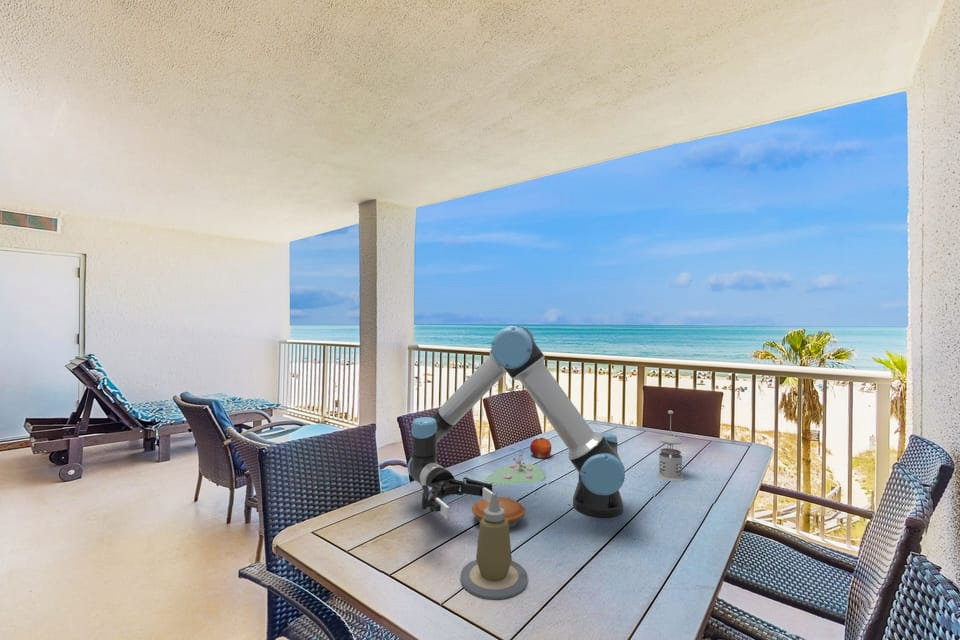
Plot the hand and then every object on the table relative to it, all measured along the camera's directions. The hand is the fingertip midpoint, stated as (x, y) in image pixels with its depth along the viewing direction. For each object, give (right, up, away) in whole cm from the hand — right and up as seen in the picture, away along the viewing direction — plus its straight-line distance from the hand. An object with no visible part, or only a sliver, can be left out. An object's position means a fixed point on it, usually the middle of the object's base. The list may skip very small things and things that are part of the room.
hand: (473, 507), depth 107 cm
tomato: (+28, -13, +82) cm, 88 cm away
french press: (+74, -13, +59) cm, 95 cm away
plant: (+15, -14, +58) cm, 62 cm away
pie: (+7, -13, +20) cm, 25 cm away
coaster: (+5, -12, -9) cm, 16 cm away
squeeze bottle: (+5, -12, -9) cm, 15 cm away
